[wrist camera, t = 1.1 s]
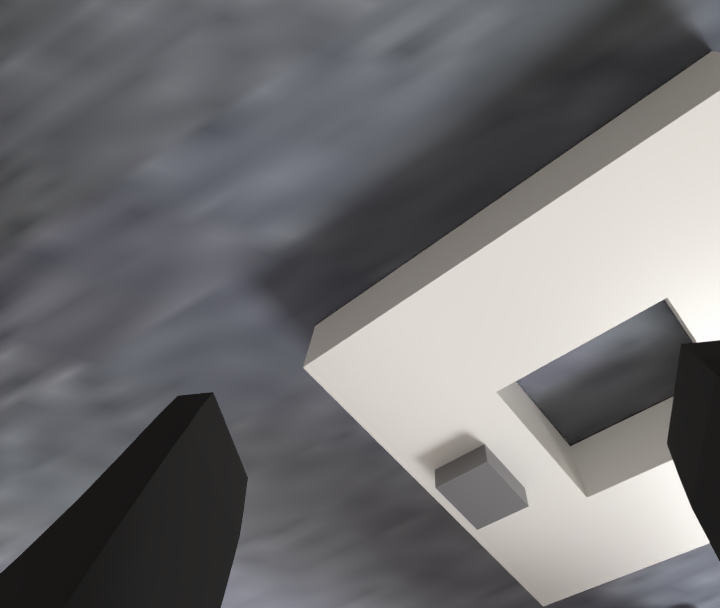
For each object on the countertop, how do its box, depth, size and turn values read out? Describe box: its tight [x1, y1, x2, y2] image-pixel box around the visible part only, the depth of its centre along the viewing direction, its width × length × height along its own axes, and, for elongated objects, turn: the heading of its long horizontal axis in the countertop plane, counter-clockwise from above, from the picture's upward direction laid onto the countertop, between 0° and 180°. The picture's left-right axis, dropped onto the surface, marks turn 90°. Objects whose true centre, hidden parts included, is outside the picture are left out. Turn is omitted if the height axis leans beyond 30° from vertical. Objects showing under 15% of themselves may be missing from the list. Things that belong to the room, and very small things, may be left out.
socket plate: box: [303, 51, 720, 607], centre depth 19 cm, size 14×14×3 cm
